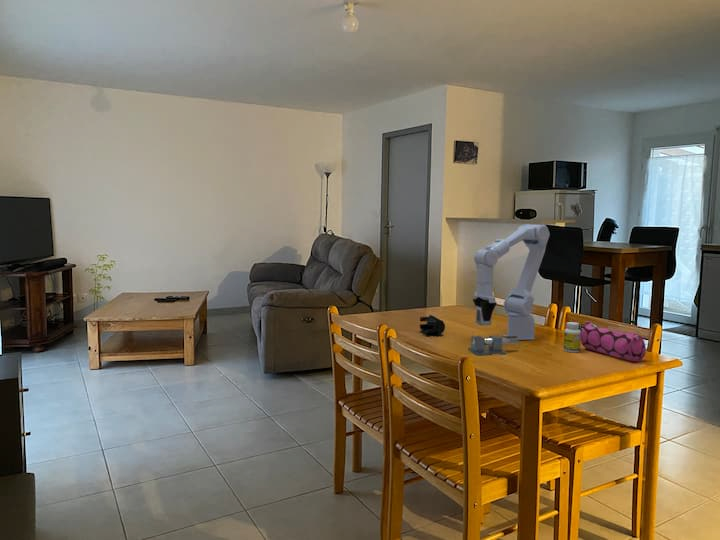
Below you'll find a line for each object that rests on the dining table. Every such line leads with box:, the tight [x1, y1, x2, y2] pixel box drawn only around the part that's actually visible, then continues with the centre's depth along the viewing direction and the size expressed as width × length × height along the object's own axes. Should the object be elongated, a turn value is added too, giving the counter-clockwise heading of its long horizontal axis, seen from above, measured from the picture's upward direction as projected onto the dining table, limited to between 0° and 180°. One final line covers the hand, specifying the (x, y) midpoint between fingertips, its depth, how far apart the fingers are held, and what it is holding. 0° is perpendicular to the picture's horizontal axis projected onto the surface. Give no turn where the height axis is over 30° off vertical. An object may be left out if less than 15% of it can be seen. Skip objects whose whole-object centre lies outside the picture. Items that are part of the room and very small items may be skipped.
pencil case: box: [580, 320, 647, 363], centre depth 184 cm, size 21×10×10 cm, turn 28°
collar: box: [475, 306, 493, 327], centre depth 199 cm, size 4×5×6 cm
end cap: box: [419, 314, 446, 338], centre depth 214 cm, size 10×7×7 cm
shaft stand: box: [467, 334, 520, 356], centre depth 187 cm, size 16×8×5 cm, turn 100°
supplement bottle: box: [563, 321, 582, 353], centre depth 189 cm, size 5×5×10 cm
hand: (483, 319), depth 199 cm, fingers closed on collar, 5 cm apart
